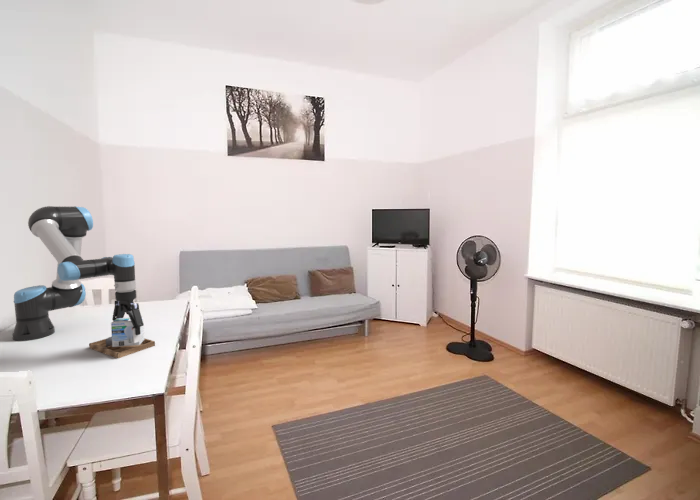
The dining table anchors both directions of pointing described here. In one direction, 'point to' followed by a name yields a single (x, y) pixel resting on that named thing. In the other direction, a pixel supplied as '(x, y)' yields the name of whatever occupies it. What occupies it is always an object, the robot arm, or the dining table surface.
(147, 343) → the wooden divided tray
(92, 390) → the dining table surface
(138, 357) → the dining table surface
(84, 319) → the dining table surface
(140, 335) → the robot arm
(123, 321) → the light bulb box
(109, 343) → the grey smooth rounded part
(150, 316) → the dining table surface
